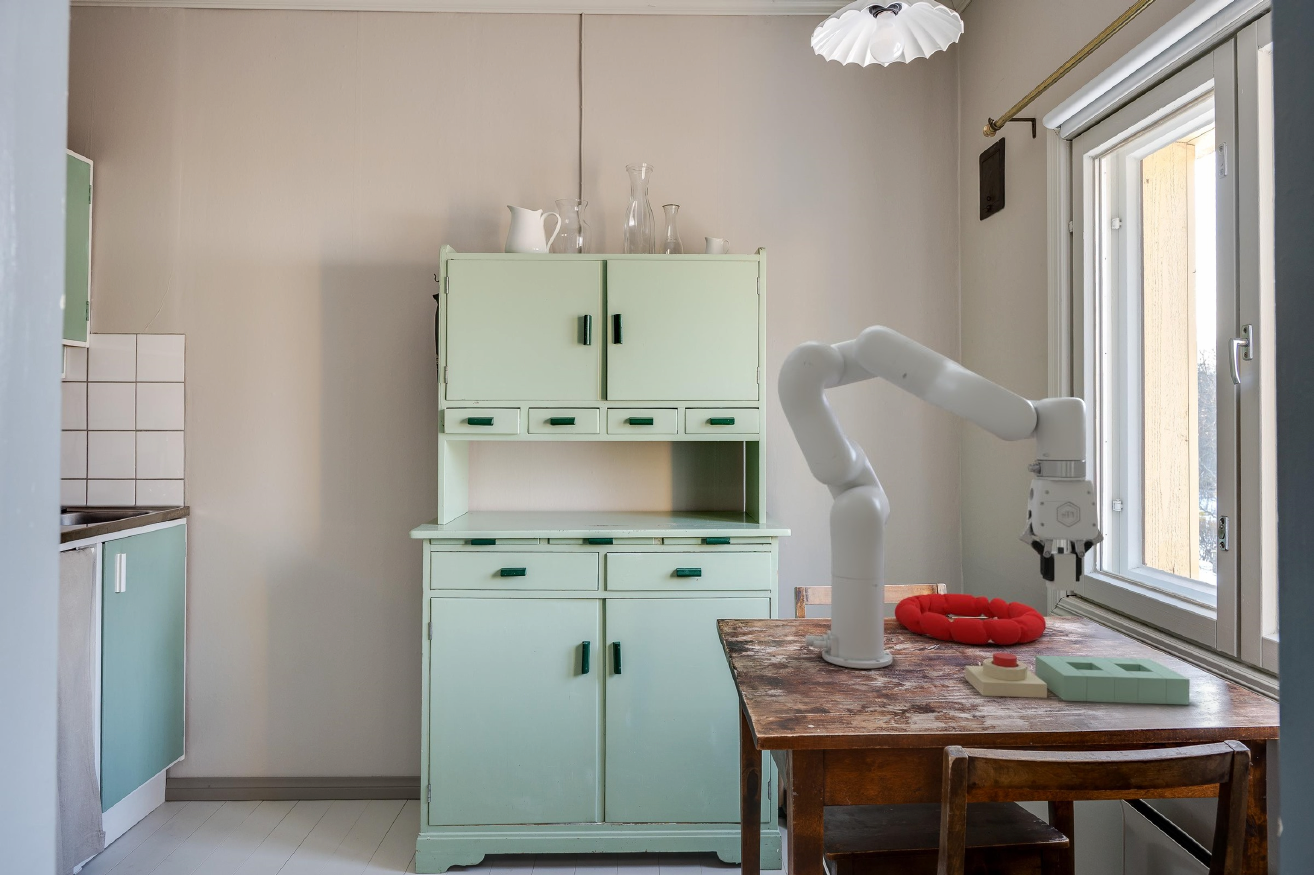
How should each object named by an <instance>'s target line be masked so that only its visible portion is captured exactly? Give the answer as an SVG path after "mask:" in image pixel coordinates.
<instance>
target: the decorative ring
mask: <svg viewBox="0 0 1314 875" xmlns="http://www.w3.org/2000/svg"><path fill="white" fill-rule="evenodd" d="M950 615H952V616H954V617H955V618H953V620H952V621H951V620H950V619H949V617H947V616H950ZM982 615H983V616H984V617H985V618H987V619H984V620H982V619H980V617H981V616H982ZM894 617H895V619H896V621H897V623H898V624H900V625H901V626H903V627H905V628H906V629H907V630H909V631H910V632H912V633H915V634H918V635H928V636H930V637H931V638H934V639H937V640H939V641H944V642H945V641H947V642H949V641H956V642H959V643H962V644H968V645H979V646H983V645H987V644H989V641H992V643H994V644H995V645H998V646H999V645H1000V646H1011V645H1014V644H1016V643H1017V644H1026V643H1030V642H1032V641H1036V640H1037V639H1039V638H1040V637H1042V635H1044V632H1045V631H1046V628H1047V622H1046V619H1045V617H1044V616H1043V614H1042V613H1040V612H1038V611H1037V610H1036V609H1035V608H1034V607H1032V606H1029V605H1027V604H1024V603H1020V602H1017V601H1011V602H1009V603H1007V602H1006V601H1005V600H1004V599H1002V598H1000V597H999V598H998V597H995V598H992V599H991V600H989V598H988V597H987V596H977V597H976V596H974V595H972V594H964V593H943V594H942V593H927V594H916V595H912V596H908V597H906V598H903V599H901V600H900V601H898V603H897V604H896V605H895V608H894Z"/></svg>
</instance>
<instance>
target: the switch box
mask: <svg viewBox="0 0 1314 875" xmlns="http://www.w3.org/2000/svg"><path fill="white" fill-rule="evenodd" d="M964 679H966V681H967V682H968V684H970V685H971V686H972V687H973V688H974V689H975V690H976V691H977V692H978V693H980V695H981V696H985V697H986V696H987V697H1012V698H1013V697H1014V698H1044V699H1046V698H1048V688H1047V684H1046V683H1045V682H1044V681H1042V680H1041V679H1040V678H1038V677H1037V676H1036V675H1035V673H1033V672H1032V671H1030V670H1029V669H1028V665H1027V664H1026V663H1024V662H1022V661H1018V660H1017V667H1001V666H997V665H994V664H993V657H991V658H985V659H984V660H983V661H982V665H964Z"/></svg>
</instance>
